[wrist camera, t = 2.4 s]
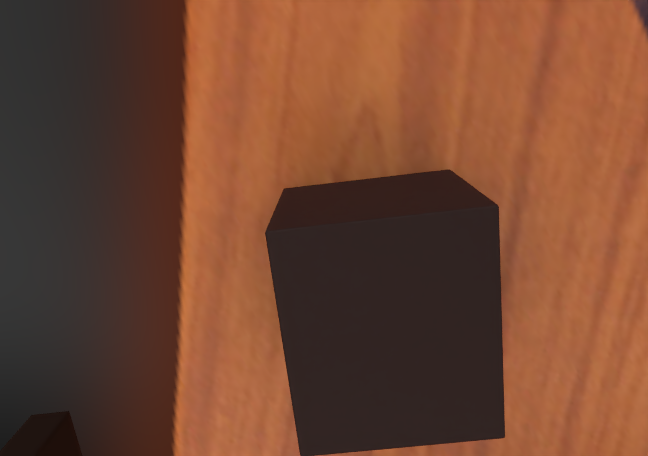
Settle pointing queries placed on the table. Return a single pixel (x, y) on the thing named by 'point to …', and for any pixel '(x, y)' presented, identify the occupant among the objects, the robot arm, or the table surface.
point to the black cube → (389, 312)
